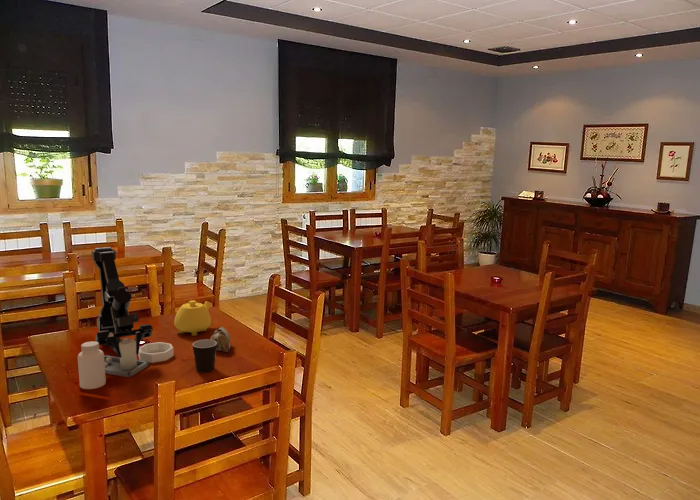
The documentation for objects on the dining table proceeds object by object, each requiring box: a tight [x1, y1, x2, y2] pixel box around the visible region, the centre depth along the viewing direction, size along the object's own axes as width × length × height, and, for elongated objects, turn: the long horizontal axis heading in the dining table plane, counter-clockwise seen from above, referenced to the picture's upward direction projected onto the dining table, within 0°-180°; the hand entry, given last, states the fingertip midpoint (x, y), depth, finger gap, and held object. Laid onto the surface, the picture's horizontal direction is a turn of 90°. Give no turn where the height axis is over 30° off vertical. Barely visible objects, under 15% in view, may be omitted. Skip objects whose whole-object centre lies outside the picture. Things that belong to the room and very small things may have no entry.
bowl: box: [137, 341, 175, 364], centre depth 206 cm, size 12×12×4 cm
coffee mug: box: [191, 338, 217, 374], centre depth 198 cm, size 12×9×10 cm
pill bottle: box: [77, 340, 107, 390], centre depth 180 cm, size 8×8×15 cm
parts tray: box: [104, 354, 150, 378], centre depth 194 cm, size 19×11×3 cm, turn 75°
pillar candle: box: [118, 337, 138, 372], centre depth 192 cm, size 6×6×12 cm
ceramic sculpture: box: [209, 325, 232, 353], centre depth 217 cm, size 11×9×15 cm
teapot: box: [173, 299, 212, 337], centre depth 238 cm, size 20×16×14 cm
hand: (128, 355), depth 191 cm, fingers closed on pillar candle, 6 cm apart
